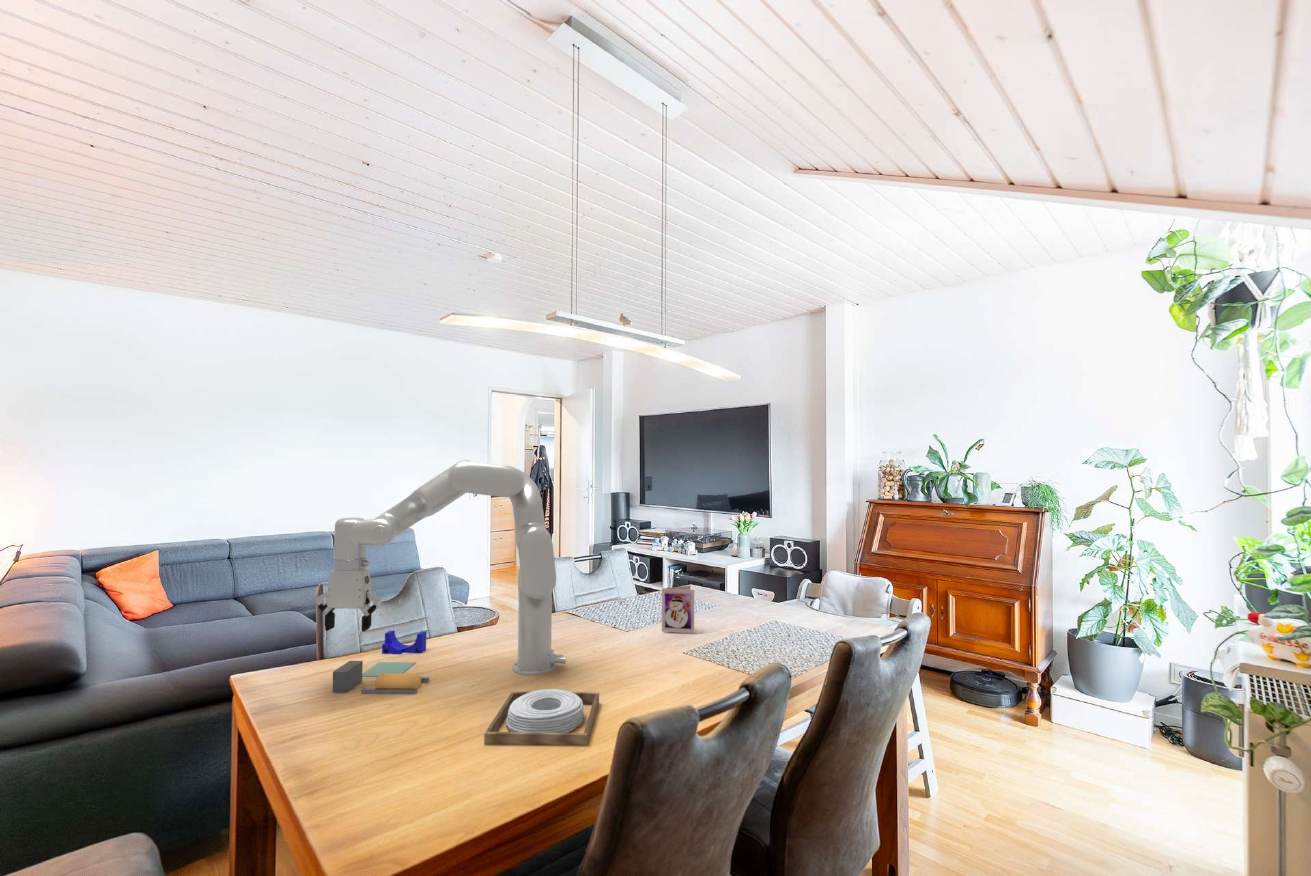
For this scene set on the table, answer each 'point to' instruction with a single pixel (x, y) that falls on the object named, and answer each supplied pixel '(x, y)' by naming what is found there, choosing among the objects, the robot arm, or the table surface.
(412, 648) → the cable clip
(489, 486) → the robot arm
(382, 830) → the table surface
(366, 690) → the channel
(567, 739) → the cable tray
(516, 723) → the cable
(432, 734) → the table surface
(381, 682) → the tan cylinder
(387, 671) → the pad
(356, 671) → the block
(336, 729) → the table surface
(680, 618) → the greeting card
